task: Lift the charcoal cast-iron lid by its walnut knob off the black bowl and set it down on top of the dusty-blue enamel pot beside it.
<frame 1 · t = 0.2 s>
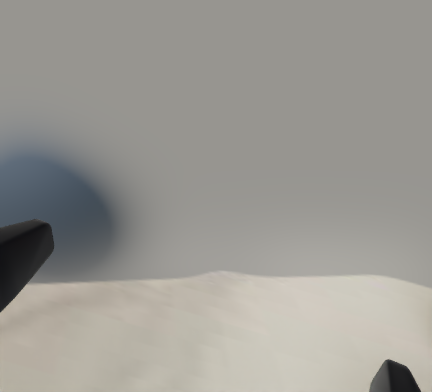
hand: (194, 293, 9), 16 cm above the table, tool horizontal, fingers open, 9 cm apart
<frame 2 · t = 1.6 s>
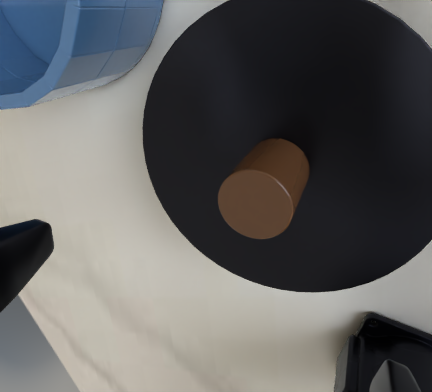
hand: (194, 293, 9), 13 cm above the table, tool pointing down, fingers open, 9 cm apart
lid: (280, 163, 16), point 4 cm above the table, touching black bowl
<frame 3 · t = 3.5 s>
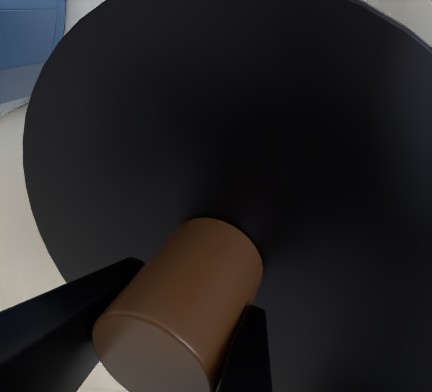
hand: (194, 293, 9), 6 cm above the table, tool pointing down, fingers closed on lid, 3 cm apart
lid: (223, 246, 10), point 4 cm above the table, touching gripper, black bowl
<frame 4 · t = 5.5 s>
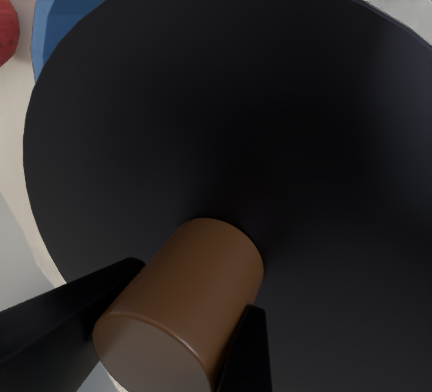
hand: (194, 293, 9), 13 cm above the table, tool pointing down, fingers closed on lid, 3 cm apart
lid: (223, 247, 10), point 11 cm above the table, touching gripper
onion: (17, 17, 23), on the table
pot: (213, 79, 20), on the table
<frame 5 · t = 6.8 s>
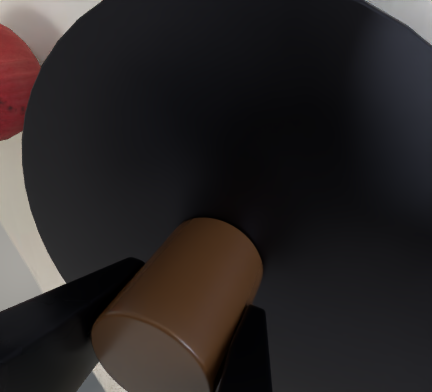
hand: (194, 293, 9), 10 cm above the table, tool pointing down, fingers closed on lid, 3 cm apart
lid: (222, 246, 10), point 8 cm above the table, touching gripper
onion: (39, 68, 20), on the table
when the fingers open (8 cm above the table, at t = 7.5 s): lid stays where it is, resting on pot.
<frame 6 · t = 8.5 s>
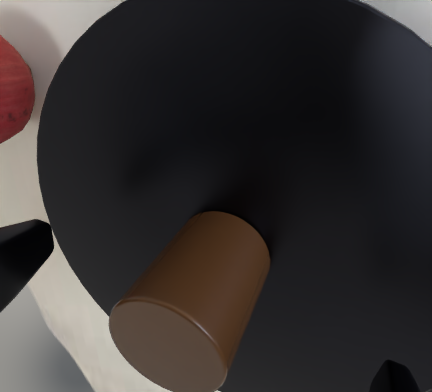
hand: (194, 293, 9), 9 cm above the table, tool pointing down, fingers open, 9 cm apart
lid: (230, 240, 11), point 6 cm above the table, touching pot
onion: (30, 72, 19), on the table
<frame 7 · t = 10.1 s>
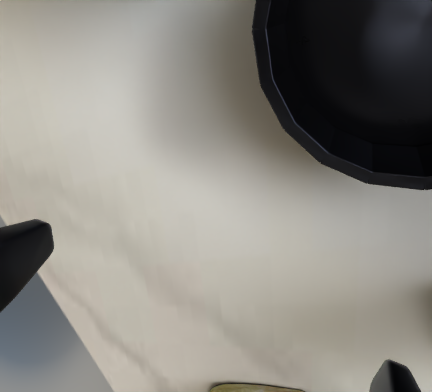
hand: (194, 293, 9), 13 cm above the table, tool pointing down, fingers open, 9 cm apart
black bowl: (418, 18, 15), on the table
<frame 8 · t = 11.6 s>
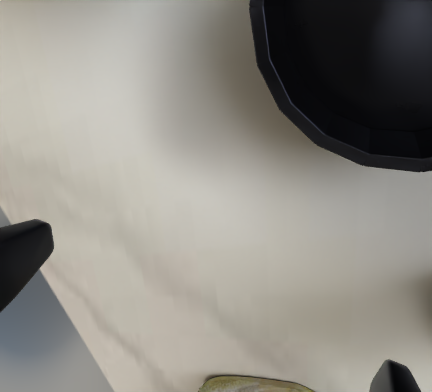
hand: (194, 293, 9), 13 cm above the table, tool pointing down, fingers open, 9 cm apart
black bowl: (417, 0, 15), on the table
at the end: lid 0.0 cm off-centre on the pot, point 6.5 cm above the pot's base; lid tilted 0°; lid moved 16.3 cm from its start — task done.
